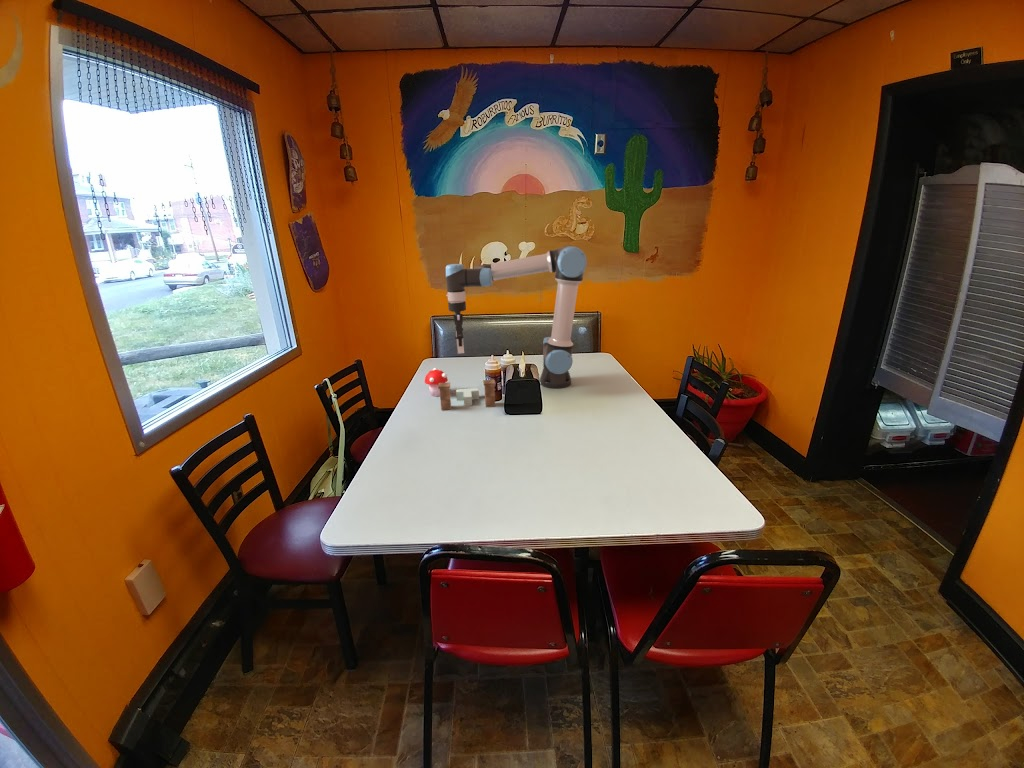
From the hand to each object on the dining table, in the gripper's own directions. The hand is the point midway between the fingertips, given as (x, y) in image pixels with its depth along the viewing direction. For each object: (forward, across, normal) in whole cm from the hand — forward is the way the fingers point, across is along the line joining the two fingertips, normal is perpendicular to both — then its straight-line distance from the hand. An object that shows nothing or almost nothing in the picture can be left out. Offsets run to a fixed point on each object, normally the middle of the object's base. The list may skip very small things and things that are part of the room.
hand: (460, 349), depth 198 cm
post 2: (+22, +15, +11) cm, 29 cm away
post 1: (+22, +14, -8) cm, 27 cm away
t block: (+22, +8, +1) cm, 23 cm away
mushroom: (+22, -4, -12) cm, 26 cm away
